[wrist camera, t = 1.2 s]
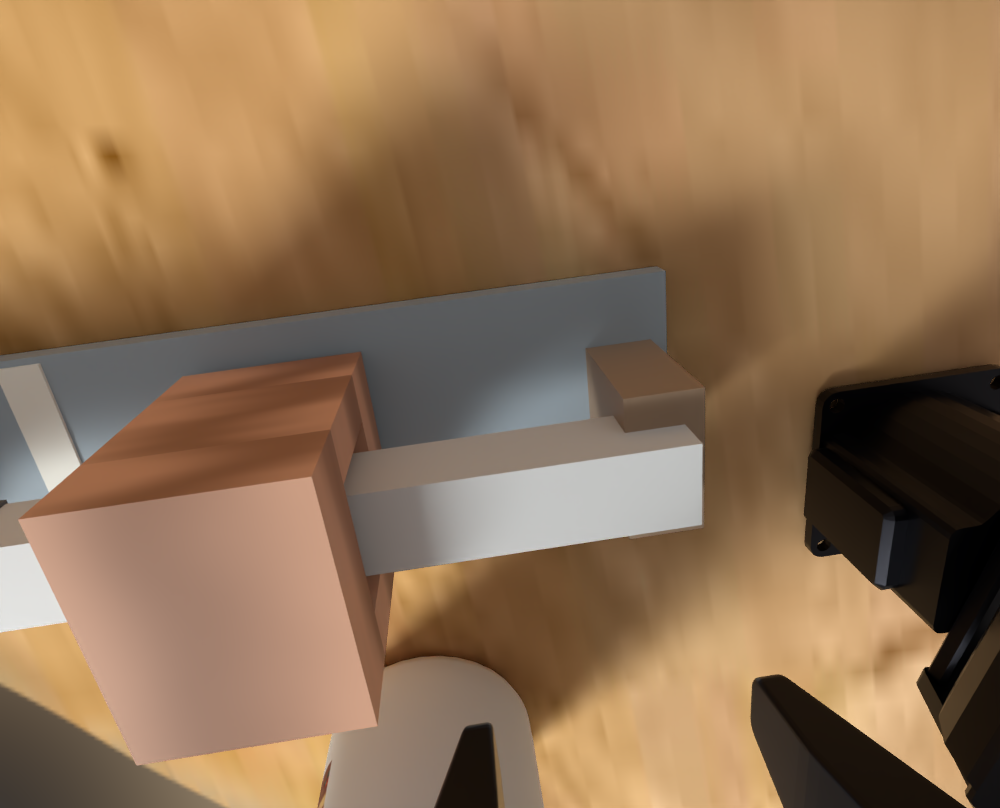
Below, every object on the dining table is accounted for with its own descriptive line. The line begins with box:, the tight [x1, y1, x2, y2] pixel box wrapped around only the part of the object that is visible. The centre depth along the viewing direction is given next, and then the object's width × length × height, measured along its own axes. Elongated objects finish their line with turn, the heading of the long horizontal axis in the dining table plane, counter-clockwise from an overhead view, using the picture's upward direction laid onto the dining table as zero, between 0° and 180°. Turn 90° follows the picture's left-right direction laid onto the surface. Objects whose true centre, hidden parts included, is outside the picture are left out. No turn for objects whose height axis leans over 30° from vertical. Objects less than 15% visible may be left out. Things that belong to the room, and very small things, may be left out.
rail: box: [0, 266, 705, 632], centre depth 17 cm, size 25×8×6 cm, turn 96°
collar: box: [18, 352, 394, 765], centre depth 15 cm, size 5×6×7 cm
